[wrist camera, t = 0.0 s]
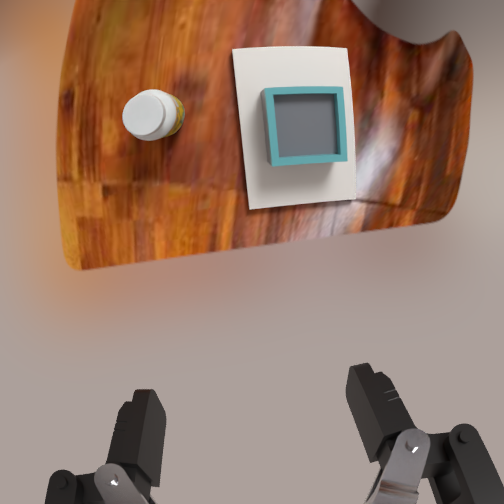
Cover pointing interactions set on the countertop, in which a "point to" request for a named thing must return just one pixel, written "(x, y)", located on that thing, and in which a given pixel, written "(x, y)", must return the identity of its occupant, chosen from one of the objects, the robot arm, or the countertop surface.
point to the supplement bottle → (153, 115)
